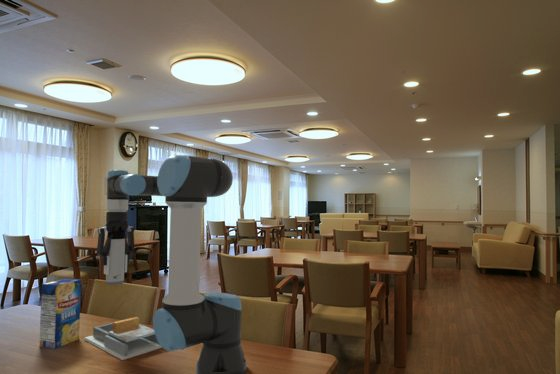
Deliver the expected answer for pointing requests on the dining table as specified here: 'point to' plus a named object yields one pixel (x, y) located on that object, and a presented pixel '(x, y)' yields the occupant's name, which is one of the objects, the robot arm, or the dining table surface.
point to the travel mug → (116, 258)
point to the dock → (121, 343)
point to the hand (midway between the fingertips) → (115, 272)
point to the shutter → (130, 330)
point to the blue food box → (60, 313)
